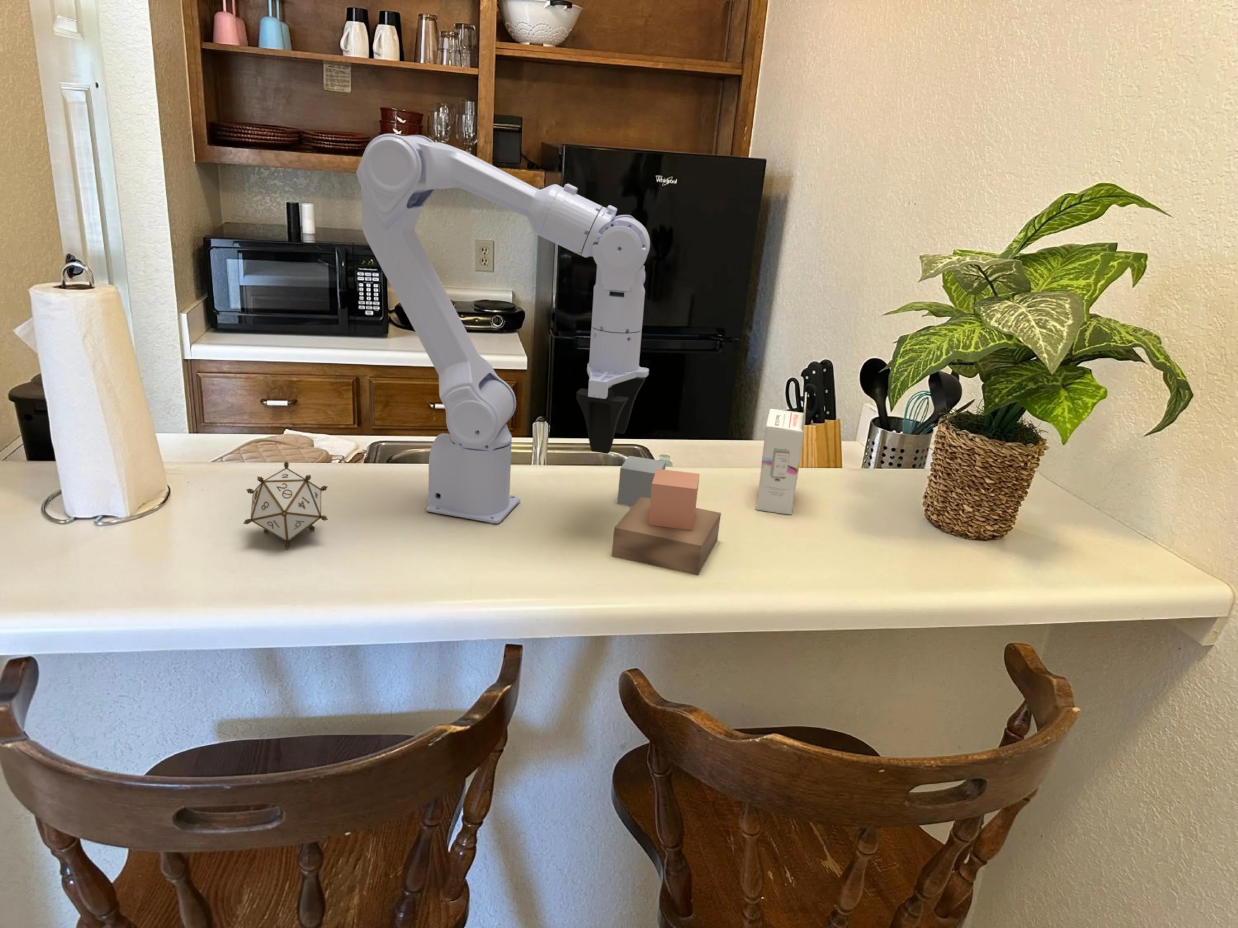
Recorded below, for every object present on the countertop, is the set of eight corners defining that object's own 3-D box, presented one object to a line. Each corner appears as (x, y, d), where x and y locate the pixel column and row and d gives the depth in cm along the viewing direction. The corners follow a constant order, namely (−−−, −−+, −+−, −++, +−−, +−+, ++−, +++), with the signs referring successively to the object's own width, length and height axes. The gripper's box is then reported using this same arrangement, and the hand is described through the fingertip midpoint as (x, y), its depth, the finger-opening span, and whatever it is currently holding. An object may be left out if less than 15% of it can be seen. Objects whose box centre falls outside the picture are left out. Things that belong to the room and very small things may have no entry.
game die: (309, 567, 98) (357, 511, 94) (237, 563, 92) (285, 502, 88) (288, 506, 103) (332, 450, 99) (218, 497, 96) (262, 437, 92)
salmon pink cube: (648, 524, 99) (651, 483, 97) (652, 508, 103) (656, 468, 102) (692, 530, 98) (696, 489, 96) (695, 513, 103) (699, 473, 101)
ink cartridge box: (757, 487, 122) (772, 386, 117) (793, 492, 122) (809, 390, 116) (753, 510, 114) (769, 402, 109) (791, 516, 114) (809, 407, 109)
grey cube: (617, 504, 113) (620, 468, 111) (626, 490, 118) (629, 455, 116) (655, 510, 112) (658, 474, 110) (662, 496, 117) (666, 461, 115)
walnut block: (611, 559, 99) (614, 527, 97) (637, 526, 108) (640, 496, 106) (697, 578, 96) (701, 545, 95) (716, 543, 105) (721, 512, 104)
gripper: (637, 344, 91) (627, 466, 96) (663, 321, 105) (653, 428, 109) (572, 336, 93) (566, 457, 97) (606, 314, 106) (599, 421, 111)
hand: (608, 441), depth 104 cm, fingers open, 7 cm apart
